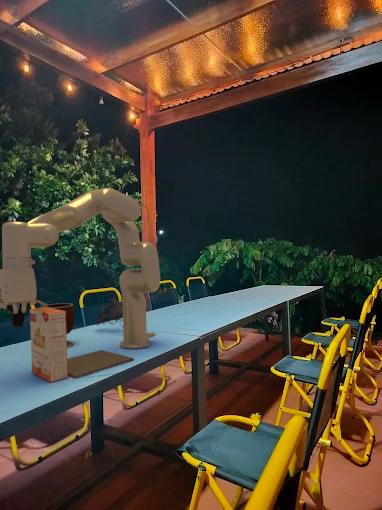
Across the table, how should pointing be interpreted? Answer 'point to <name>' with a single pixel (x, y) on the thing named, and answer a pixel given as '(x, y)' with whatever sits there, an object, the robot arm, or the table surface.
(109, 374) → the table surface
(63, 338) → the cracker box
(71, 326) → the mate gourd
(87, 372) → the mat
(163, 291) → the dried plant
